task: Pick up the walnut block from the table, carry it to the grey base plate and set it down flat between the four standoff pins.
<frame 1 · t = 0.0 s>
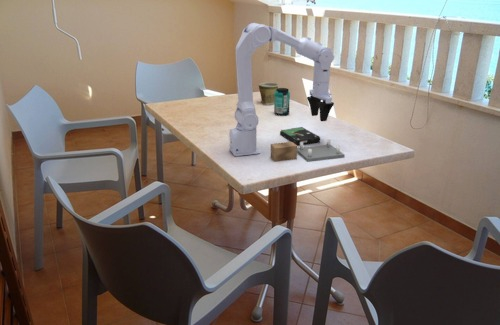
hand: (318, 118, 153), 10 cm above the table, tool pointing down, fingers open, 7 cm apart
disk drive: (299, 140, 163), on the table
standoff plate: (319, 153, 146), on the table
walnut block: (283, 158, 143), on the table
olive green plant pot: (268, 103, 217), on the table
beverage can: (281, 114, 196), on the table
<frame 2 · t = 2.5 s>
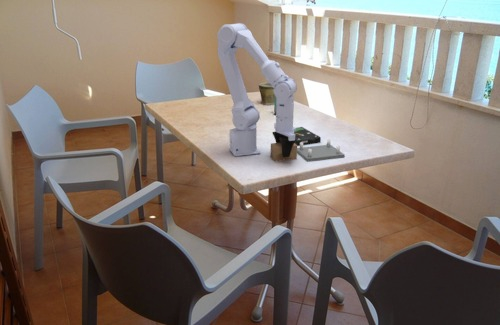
hand: (283, 154, 142), 1 cm above the table, tool pointing down, fingers closed on walnut block, 4 cm apart
walnut block: (283, 158, 143), on the table, touching gripper
everything else where it was.
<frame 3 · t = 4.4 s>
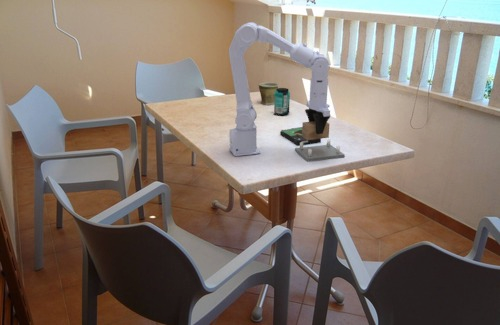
hand: (316, 131, 143), 9 cm above the table, tool pointing down, fingers closed on walnut block, 4 cm apart
walnut block: (315, 136, 143), point 7 cm above the table, touching gripper
everything else where it was.
when the fingers open (4 cm above the table, at t = 6.8 s): walnut block stays where it is, resting on standoff plate.
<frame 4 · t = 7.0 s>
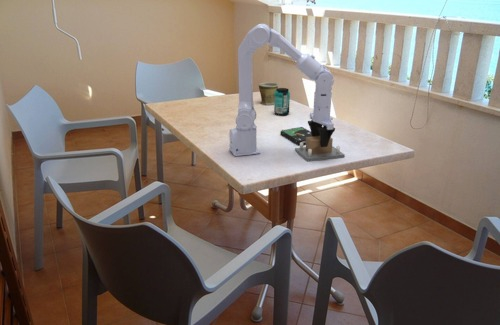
hand: (319, 143, 145), 4 cm above the table, tool pointing down, fingers open, 6 cm apart
walnut block: (318, 151, 146), point 1 cm above the table, touching standoff plate
everything else where it was.
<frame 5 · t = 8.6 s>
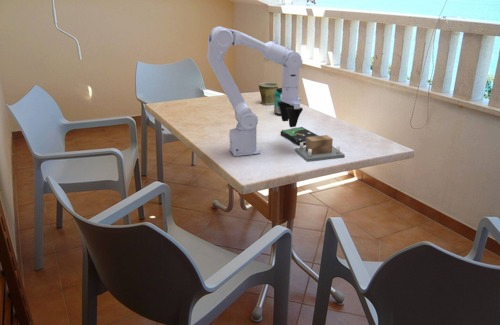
hand: (288, 123, 149), 9 cm above the table, tool pointing down, fingers open, 7 cm apart
nothing on the table moved.
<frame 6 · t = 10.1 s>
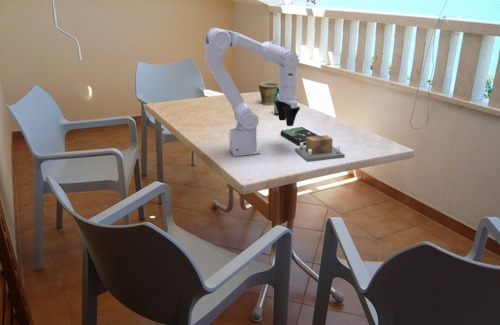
hand: (286, 122, 150), 9 cm above the table, tool pointing down, fingers open, 7 cm apart
nothing on the table moved.
at the end: walnut block 0.3 cm off-centre on the standoff plate, point 1.0 cm above the standoff plate's base; walnut block tilted 0°; the gripper is holding nothing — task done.
